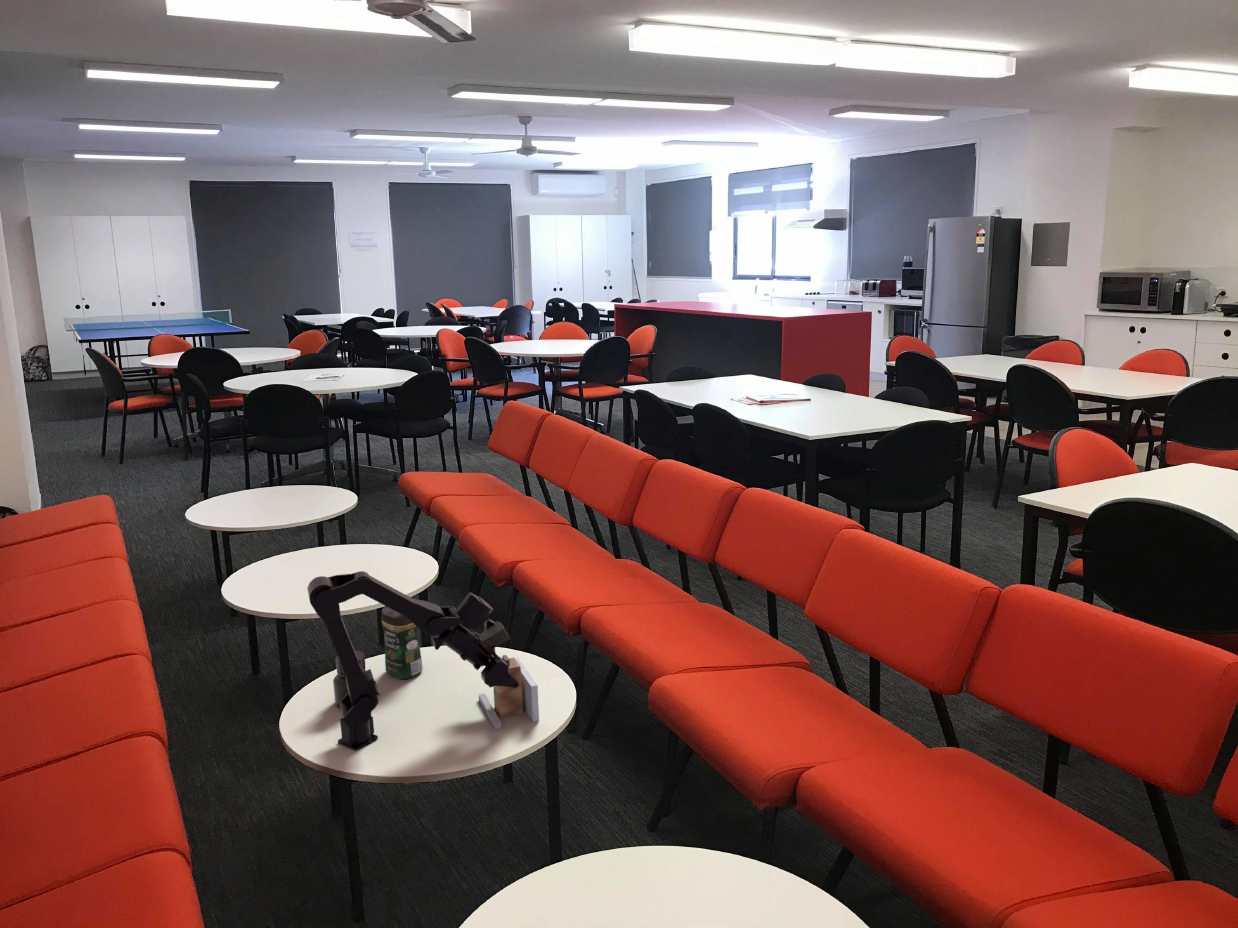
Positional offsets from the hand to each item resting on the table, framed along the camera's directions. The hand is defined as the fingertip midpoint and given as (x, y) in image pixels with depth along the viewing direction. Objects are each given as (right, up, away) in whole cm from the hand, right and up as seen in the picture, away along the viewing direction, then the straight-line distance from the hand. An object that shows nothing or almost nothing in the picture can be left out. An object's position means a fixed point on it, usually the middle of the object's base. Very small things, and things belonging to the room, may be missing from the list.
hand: (512, 677), depth 222 cm
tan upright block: (-1, -8, +1) cm, 8 cm away
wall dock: (-1, -8, +1) cm, 8 cm away
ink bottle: (-40, -8, +7) cm, 41 cm away
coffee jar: (-31, -4, +23) cm, 39 cm away
